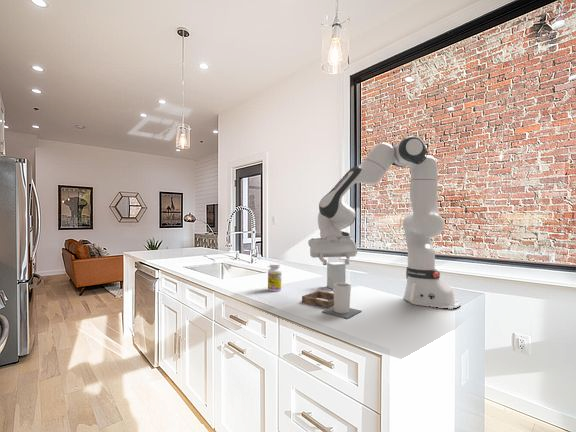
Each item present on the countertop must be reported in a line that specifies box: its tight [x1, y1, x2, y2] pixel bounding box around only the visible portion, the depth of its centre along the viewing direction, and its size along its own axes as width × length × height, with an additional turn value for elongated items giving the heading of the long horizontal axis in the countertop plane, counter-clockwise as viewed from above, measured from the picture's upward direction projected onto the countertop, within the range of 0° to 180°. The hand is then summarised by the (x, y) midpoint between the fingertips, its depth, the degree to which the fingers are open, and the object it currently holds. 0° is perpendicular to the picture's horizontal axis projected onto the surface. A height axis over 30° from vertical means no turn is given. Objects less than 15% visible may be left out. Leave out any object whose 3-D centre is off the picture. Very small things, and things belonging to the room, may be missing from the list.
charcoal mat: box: [321, 306, 362, 320], centre depth 117 cm, size 11×11×1 cm
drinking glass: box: [333, 282, 352, 313], centre depth 117 cm, size 7×7×10 cm
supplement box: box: [326, 261, 347, 290], centre depth 156 cm, size 7×7×13 cm
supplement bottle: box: [267, 262, 282, 292], centre depth 150 cm, size 7×7×13 cm
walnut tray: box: [301, 290, 334, 309], centre depth 131 cm, size 13×13×2 cm
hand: (336, 264), depth 126 cm, fingers open, 8 cm apart
